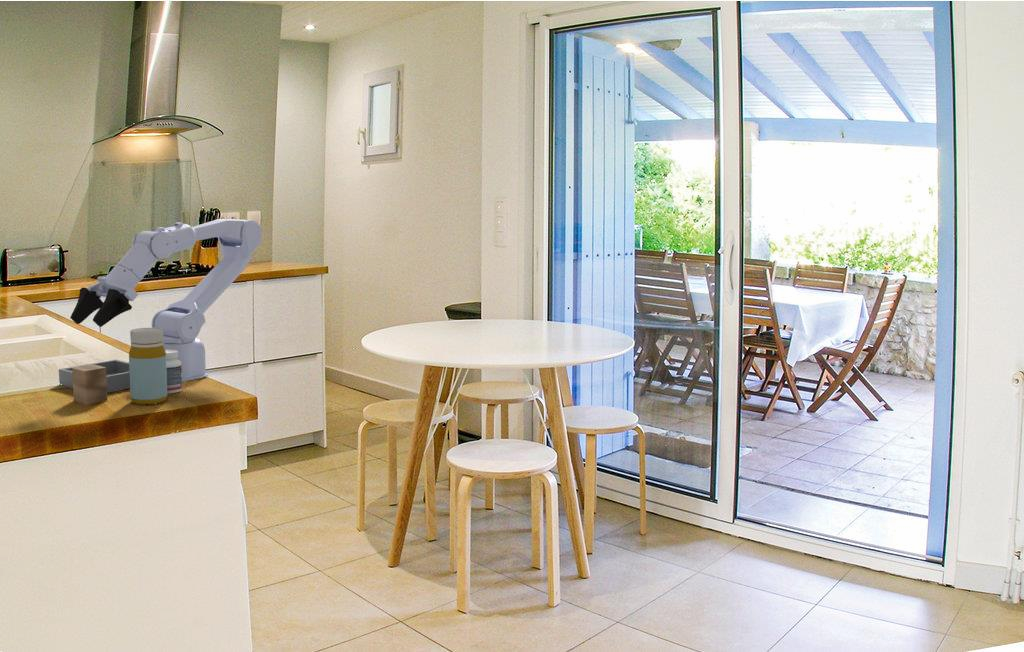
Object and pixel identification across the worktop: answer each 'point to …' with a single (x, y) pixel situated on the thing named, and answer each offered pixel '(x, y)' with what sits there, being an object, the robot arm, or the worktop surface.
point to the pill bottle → (173, 371)
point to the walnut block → (89, 384)
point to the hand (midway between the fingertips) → (85, 322)
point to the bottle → (147, 366)
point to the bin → (114, 375)
